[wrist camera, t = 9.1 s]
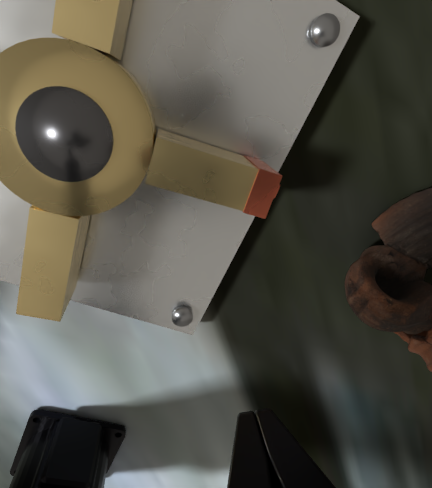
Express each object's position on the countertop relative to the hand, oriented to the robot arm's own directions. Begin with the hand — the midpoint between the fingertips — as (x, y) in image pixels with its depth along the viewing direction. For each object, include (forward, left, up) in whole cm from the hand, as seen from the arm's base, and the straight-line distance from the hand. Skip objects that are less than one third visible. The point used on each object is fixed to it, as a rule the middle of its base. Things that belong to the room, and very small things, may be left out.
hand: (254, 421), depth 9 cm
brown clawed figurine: (+3, -12, -12) cm, 18 cm away
